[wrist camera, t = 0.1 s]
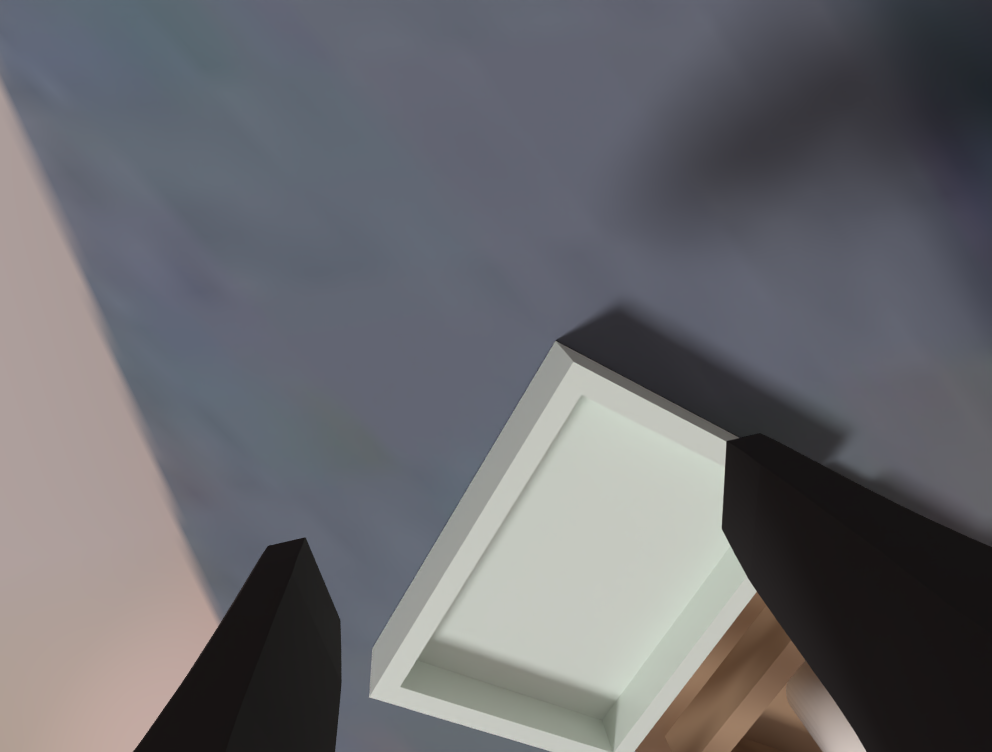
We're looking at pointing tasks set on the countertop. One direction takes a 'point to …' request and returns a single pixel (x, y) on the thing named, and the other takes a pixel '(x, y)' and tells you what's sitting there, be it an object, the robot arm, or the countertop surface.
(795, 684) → the white rounded piece
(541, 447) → the tray
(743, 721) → the tray
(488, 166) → the countertop surface
